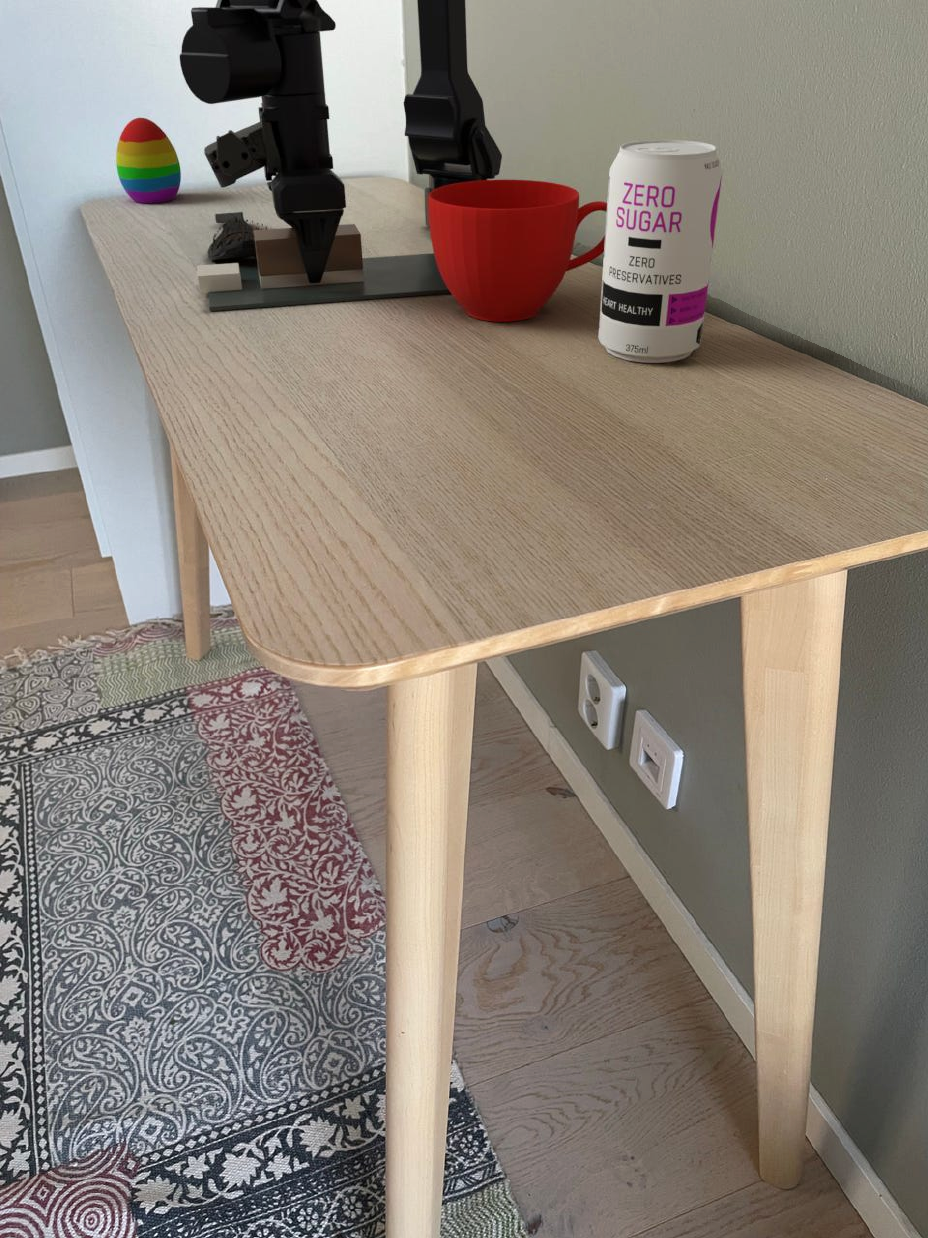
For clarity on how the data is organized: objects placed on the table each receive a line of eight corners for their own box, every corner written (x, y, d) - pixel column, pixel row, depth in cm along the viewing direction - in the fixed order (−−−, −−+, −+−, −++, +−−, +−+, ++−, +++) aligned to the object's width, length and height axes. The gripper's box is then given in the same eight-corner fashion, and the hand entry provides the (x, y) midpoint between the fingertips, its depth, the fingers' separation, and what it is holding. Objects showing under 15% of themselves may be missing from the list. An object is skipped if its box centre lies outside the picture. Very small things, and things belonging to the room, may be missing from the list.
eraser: (358, 270, 100) (354, 223, 97) (364, 281, 96) (360, 233, 93) (259, 276, 98) (253, 229, 95) (261, 289, 94) (255, 240, 92)
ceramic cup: (635, 324, 85) (646, 201, 79) (445, 338, 82) (442, 212, 77) (590, 284, 96) (596, 174, 90) (420, 296, 93) (416, 183, 87)
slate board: (435, 256, 105) (435, 252, 105) (463, 292, 94) (463, 287, 94) (208, 272, 101) (208, 268, 101) (209, 311, 90) (209, 306, 89)
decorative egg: (123, 195, 135) (108, 115, 130) (183, 191, 137) (171, 112, 132) (122, 207, 129) (106, 123, 123) (186, 203, 131) (172, 119, 125)
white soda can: (686, 331, 83) (709, 137, 75) (710, 364, 76) (738, 155, 68) (591, 333, 83) (604, 139, 75) (606, 367, 76) (622, 157, 68)
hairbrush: (257, 195, 120) (291, 227, 100) (261, 226, 122) (295, 264, 101) (189, 200, 118) (209, 234, 97) (194, 233, 120) (215, 272, 99)
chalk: (240, 279, 97) (238, 262, 96) (242, 289, 94) (240, 272, 93) (200, 281, 97) (197, 265, 96) (200, 292, 93) (197, 275, 92)
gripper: (201, 85, 94) (225, 253, 103) (201, 107, 79) (230, 303, 87) (317, 80, 96) (331, 246, 104) (339, 102, 81) (353, 293, 89)
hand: (310, 270), depth 96 cm, fingers open, 9 cm apart
